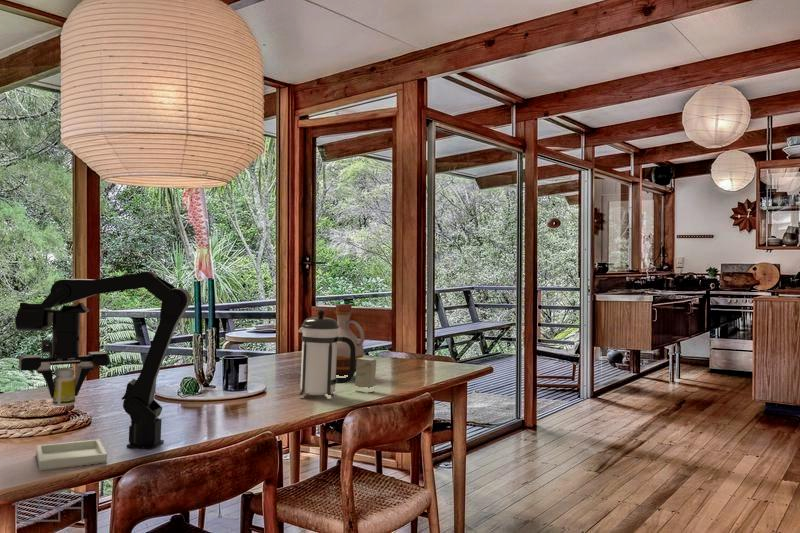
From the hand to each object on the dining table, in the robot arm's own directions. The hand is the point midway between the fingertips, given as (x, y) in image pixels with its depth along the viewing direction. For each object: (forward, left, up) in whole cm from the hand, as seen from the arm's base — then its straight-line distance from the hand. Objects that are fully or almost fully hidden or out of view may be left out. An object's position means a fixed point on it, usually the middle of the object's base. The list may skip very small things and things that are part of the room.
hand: (64, 396), depth 153 cm
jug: (-43, -114, -12) cm, 122 cm away
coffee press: (-44, -76, -12) cm, 88 cm away
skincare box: (-57, -89, -12) cm, 106 cm away
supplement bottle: (0, 0, -2) cm, 2 cm away
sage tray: (-8, +8, -12) cm, 16 cm away
